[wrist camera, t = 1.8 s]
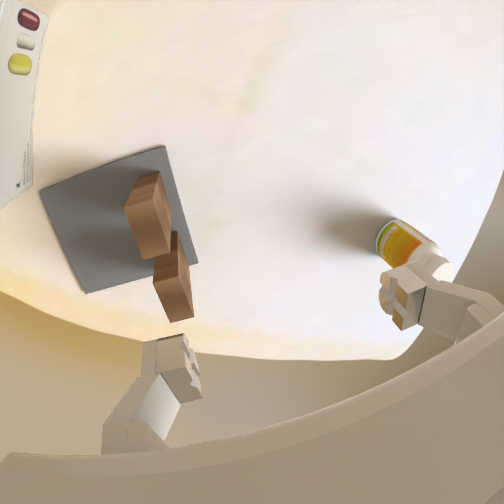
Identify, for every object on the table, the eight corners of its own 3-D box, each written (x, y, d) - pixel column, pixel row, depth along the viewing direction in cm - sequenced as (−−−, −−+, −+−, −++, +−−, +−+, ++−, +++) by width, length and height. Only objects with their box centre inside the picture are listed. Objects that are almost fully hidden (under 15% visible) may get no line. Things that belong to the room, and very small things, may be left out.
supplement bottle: (372, 261, 36) (417, 306, 28) (375, 221, 34) (428, 262, 25) (404, 252, 37) (451, 292, 29) (409, 215, 34) (462, 251, 26)
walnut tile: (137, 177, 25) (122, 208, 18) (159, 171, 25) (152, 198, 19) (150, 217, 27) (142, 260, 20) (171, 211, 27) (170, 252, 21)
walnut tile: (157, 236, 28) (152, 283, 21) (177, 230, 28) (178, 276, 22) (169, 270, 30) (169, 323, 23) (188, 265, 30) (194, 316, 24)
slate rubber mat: (40, 190, 23) (39, 191, 23) (165, 145, 25) (164, 146, 24) (86, 291, 30) (85, 293, 29) (198, 261, 31) (198, 263, 31)
